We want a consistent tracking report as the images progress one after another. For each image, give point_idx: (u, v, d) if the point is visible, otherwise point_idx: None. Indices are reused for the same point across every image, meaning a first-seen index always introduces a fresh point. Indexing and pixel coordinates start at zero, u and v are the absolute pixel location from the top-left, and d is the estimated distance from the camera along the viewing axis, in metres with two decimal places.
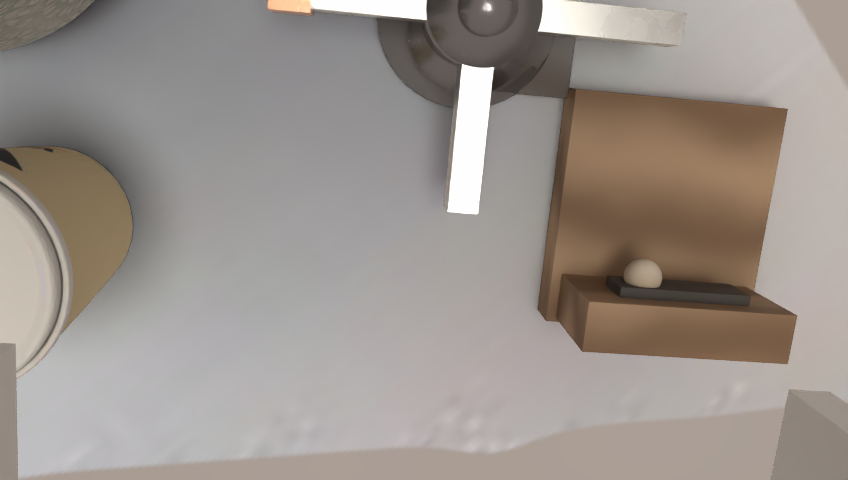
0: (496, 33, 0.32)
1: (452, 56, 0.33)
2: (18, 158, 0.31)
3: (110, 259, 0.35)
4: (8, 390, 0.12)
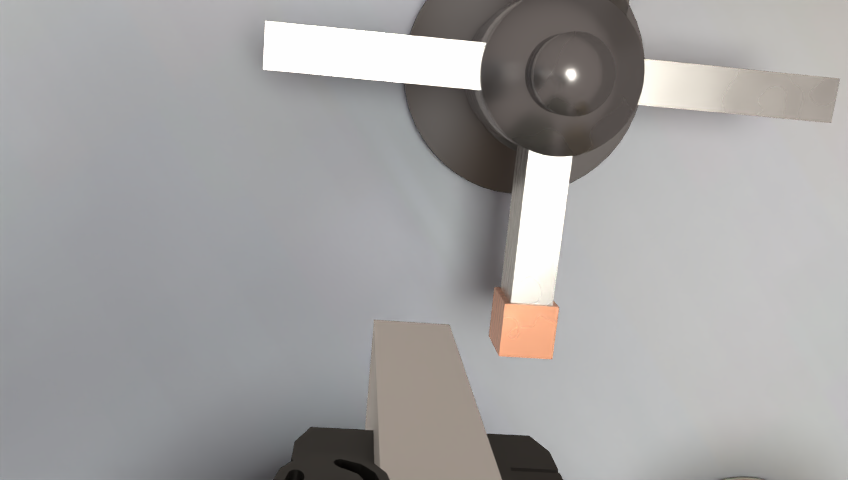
0: (613, 63, 0.22)
1: (626, 120, 0.24)
2: None
3: None
4: None
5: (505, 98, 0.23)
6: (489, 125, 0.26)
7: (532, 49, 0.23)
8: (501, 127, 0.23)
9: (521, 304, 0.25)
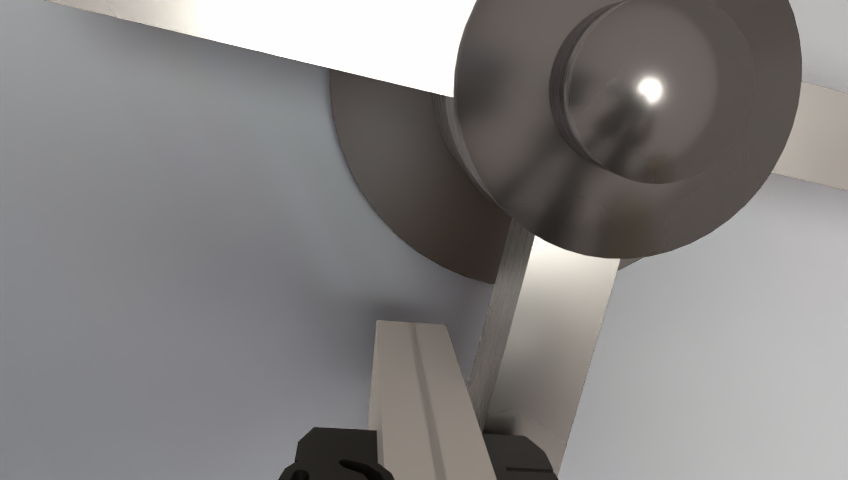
0: (752, 78, 0.10)
1: (742, 200, 0.11)
2: None
3: None
4: None
5: (501, 121, 0.11)
6: (465, 168, 0.14)
7: (572, 24, 0.11)
8: (485, 181, 0.11)
9: None
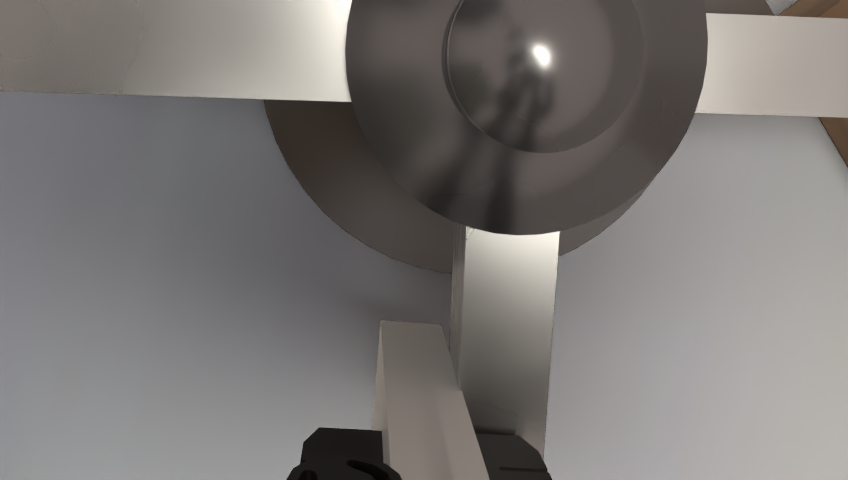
0: (637, 23, 0.09)
1: (671, 148, 0.11)
2: None
3: None
4: None
5: (402, 117, 0.11)
6: None
7: (453, 4, 0.10)
8: (399, 180, 0.11)
9: None
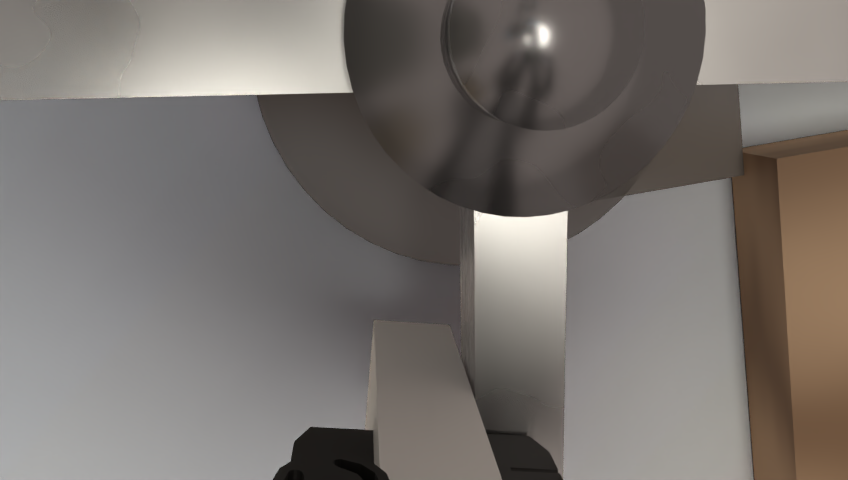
0: None
1: (674, 121, 0.11)
2: None
3: None
4: None
5: (404, 104, 0.11)
6: None
7: None
8: (405, 168, 0.11)
9: None
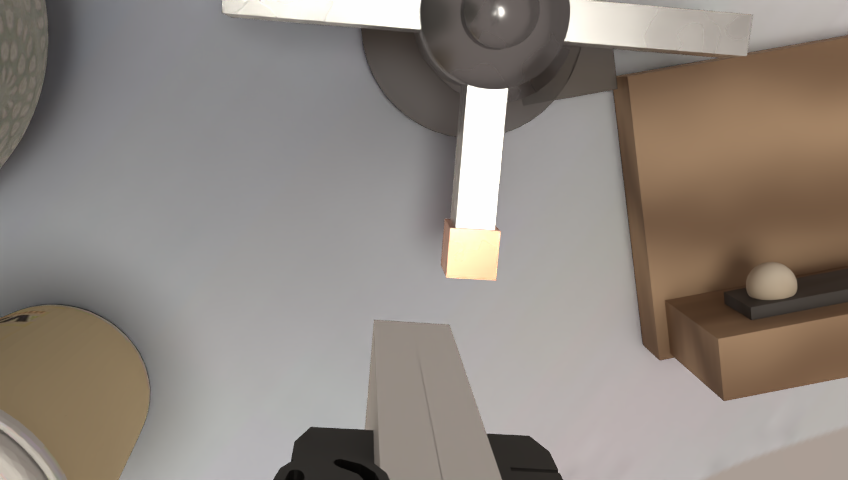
0: None
1: (555, 54, 0.26)
2: None
3: (125, 431, 0.29)
4: None
5: (443, 35, 0.26)
6: (435, 67, 0.28)
7: None
8: (440, 62, 0.26)
9: (465, 228, 0.27)
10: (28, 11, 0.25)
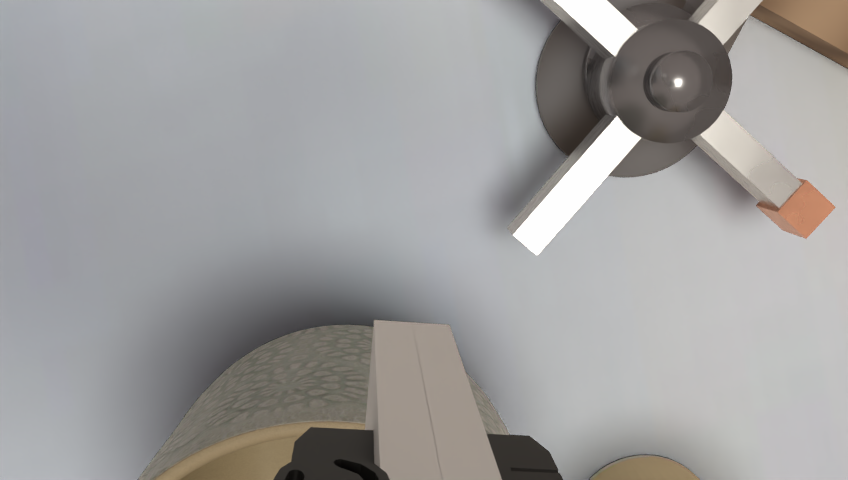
0: (694, 53, 0.30)
1: (728, 61, 0.32)
2: None
3: None
4: None
5: (658, 128, 0.32)
6: None
7: (643, 91, 0.32)
8: (673, 142, 0.32)
9: (785, 202, 0.33)
10: None
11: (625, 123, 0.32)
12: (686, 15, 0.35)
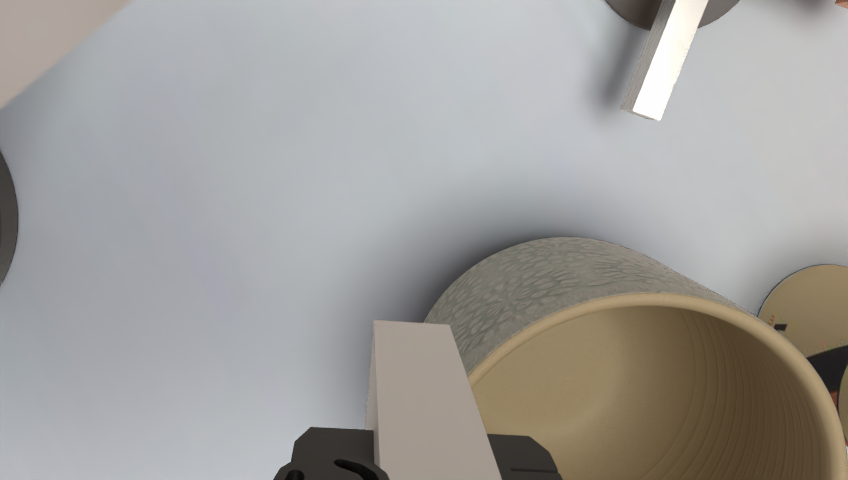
0: None
1: None
2: (831, 346, 0.37)
3: None
4: None
5: None
6: None
7: None
8: None
9: None
10: (618, 246, 0.37)
11: None
12: None
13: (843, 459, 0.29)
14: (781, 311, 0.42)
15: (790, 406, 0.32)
